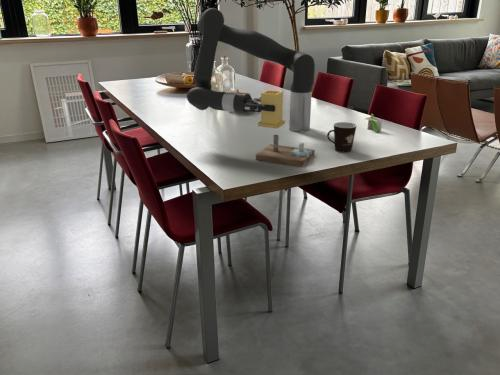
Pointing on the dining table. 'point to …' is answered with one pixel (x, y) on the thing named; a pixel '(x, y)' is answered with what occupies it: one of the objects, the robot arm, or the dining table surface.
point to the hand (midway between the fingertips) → (278, 106)
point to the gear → (301, 151)
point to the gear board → (282, 154)
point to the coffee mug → (343, 136)
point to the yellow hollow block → (269, 117)
